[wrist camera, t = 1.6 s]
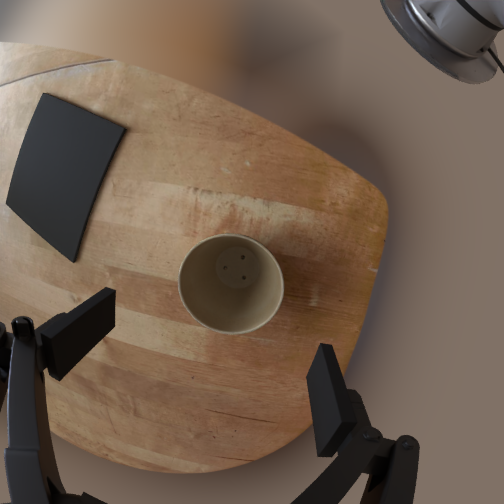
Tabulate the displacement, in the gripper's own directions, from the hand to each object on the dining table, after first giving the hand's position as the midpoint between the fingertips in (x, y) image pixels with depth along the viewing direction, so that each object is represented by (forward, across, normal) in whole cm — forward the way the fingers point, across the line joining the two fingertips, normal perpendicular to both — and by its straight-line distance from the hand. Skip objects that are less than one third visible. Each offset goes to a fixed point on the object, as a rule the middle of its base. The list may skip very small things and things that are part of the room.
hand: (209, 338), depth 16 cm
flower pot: (+17, 0, 0) cm, 17 cm away
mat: (+17, -30, +7) cm, 35 cm away
